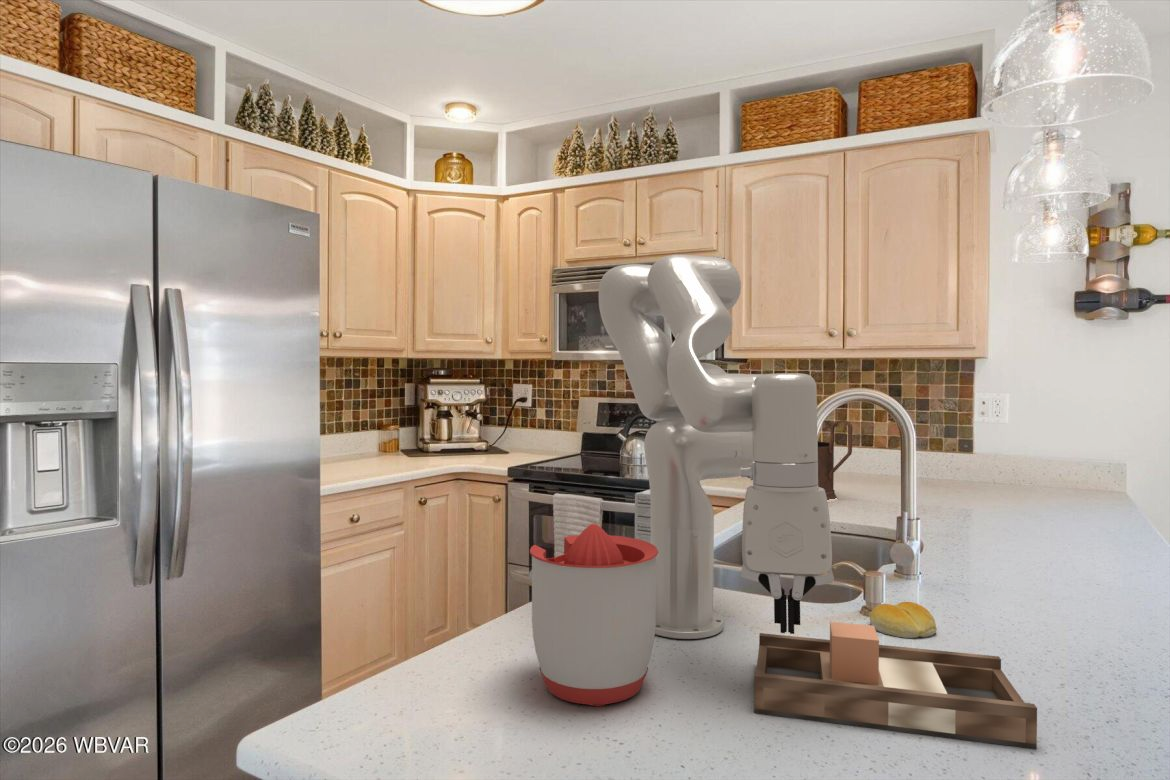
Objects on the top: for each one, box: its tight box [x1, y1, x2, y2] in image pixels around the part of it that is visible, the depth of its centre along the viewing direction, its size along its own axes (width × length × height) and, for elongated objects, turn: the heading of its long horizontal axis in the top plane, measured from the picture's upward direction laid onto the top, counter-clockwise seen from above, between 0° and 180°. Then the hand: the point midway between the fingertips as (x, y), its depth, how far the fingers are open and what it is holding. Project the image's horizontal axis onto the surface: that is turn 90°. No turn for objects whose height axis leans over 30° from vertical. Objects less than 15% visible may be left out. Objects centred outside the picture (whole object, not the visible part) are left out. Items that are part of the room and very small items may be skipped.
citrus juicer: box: [528, 523, 658, 707], centre depth 88 cm, size 16×17×20 cm
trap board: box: [753, 632, 1038, 750], centre depth 83 cm, size 28×14×4 cm, turn 74°
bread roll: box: [869, 601, 938, 639], centre depth 107 cm, size 8×9×4 cm
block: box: [829, 621, 880, 684], centre depth 84 cm, size 5×5×5 cm
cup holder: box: [817, 419, 853, 500], centre depth 222 cm, size 18×24×25 cm
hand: (787, 629), depth 85 cm, fingers closed
